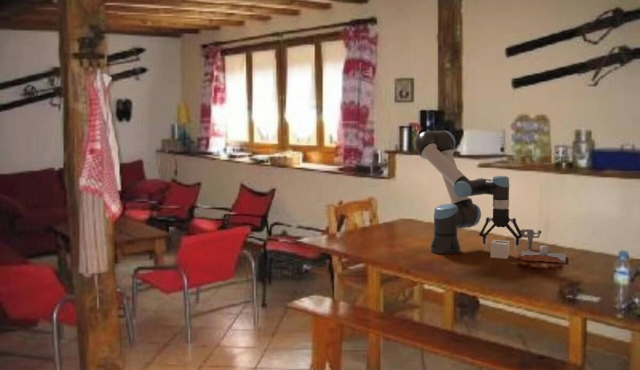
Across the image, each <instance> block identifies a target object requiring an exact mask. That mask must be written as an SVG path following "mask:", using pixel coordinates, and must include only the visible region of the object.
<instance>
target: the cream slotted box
mask: <svg viewBox="0 0 640 370" xmlns="http://www.w3.org/2000/svg"><path fill="white" fill-rule="evenodd" d="M509 256H510V240H500V239H499V240H498V239H497V240H496V239H492V240H491V242H490V258H492V259H493V258H494V259H508V258H509Z"/></svg>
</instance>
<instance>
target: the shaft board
mask: <svg viewBox="0 0 640 370" xmlns="http://www.w3.org/2000/svg"><path fill="white" fill-rule="evenodd" d="M524 255H541V256H551V257H557V258H559V259H560V260H561V261H562V262H563V265H565V264H566V260H567V259H566V256H567V254H566V253H557V252H549V246H547V245H540V246H539V251H528V250H527V251H526V250H522V251H521V255H520V257H521V256H524Z"/></svg>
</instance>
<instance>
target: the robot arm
mask: <svg viewBox="0 0 640 370" xmlns="http://www.w3.org/2000/svg"><path fill="white" fill-rule="evenodd" d="M414 146H415V147H414V148H415V151H416V153H418V154H419V156H420V157H421V158H422V159H423V160H427V161H428V162H429V163H430V164H431V165H432V166H433V167H434V168H435V169H436V170H437V171H438V173H440V174H441V175H442V178H443V181H444V184H445V187H446V190H447V192H448V195H449V198H450V201H451V202H450V203H447V204H446V203H444V204H443V203H442V204H440V205H438V206H437V205H436V207H435V208H434V211H433V212H434V214H433V238H432V241H431V243H430V246H429V247H430V252H431V253H434V254H437V255H438V254H440V255H455V254H459V253H461V252H462V251H461V249H462V248H461V243H460V240H459V237H458V230H461V229H467V228H473V227H475V226H477V225H478V224H479V223H480V220H481V218H482V212H481V208H480V207H479V206H478V205H477V204H475V203H474V202H473V200H472V198H471V197H473V196H481V195H487V196H488V195H490V196H492V207H493V208H492V217H489V216H486V218H485V223H484V225H483V226H482V228H481V231H480V233H479V235H478V236H479V237H481V238H482V243H483V244H484V246H485V248H484V251H485V252H488V248H489V247H488V245H489V244H488V241H489V240H488V238H489V237H488V235H489V234H490V233H491V232H492V231H493V229H494V228H495V227H497V228H506V229H507V230H508V231H509V232H510V233H511V235H513V237H514V241H513V243H514V244H513V246H514V248H513V252H514V253H517V246H519V244H520V239H521V238H524V237H523V235H522V233H521V231H520V230H521V229H520V227H519V225H518V224H517V220H516V218H515V217H514V218H510V209H509V208H510V178H509V177H508V176H507V175H494V176H493V177H492V179H491V178H490V179H488V178H481V177H480V178H476V179H473V180H472V179H471V180H470V178H468V177H466V175H465V174H464V173H463V172H461V171H460V170H459V169H458V167H457V164H456V159H454V156H453V155H454V152H455V148H456V139H455V136H454V135H453V134H452V133H451V132H450V131H447V130H434V131H433V130H431V131H429V130H428V131H423V132H421V133H419V134H418V136H417V137H416V139H415V141H414ZM491 221H492V223H493V224H492V225H491V226H490V228H488V229H487V230H486V228H487V226H488V224H489V223H491ZM509 222H511V224H513V226H514V229H515V230H514V229H513V227H511V225H510V224H509ZM485 230H486V232H485ZM484 232H485V233H484Z"/></svg>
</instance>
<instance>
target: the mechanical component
mask: <svg viewBox="0 0 640 370" xmlns="http://www.w3.org/2000/svg"><path fill="white" fill-rule="evenodd" d="M520 231H521V233H522V235H523V237H522V238H526V239H527V241H528V250H530V249H531V250H532V248H533V241H534V238H535V239H539V238H540V236H541V234H542V230H540V229H537V232H535V231H534V229H531V228H530V229H529V228H528V229H525V228H521V229H520Z"/></svg>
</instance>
